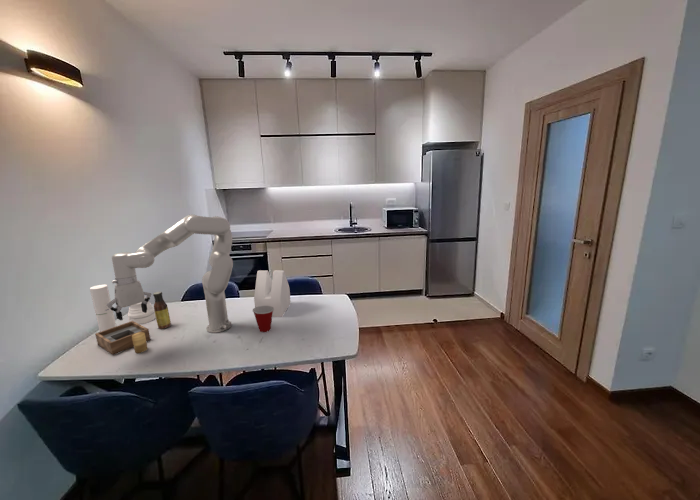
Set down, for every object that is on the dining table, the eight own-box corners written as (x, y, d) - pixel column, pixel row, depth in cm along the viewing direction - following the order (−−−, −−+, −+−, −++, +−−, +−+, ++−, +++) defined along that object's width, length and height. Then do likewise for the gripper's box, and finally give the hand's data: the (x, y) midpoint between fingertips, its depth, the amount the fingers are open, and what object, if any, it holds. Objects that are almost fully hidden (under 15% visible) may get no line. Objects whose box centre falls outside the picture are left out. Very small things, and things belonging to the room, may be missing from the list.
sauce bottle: (173, 324, 166) (167, 291, 162) (163, 330, 161) (157, 295, 156) (165, 323, 169) (159, 290, 164) (154, 328, 163) (148, 294, 158)
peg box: (150, 339, 151) (148, 328, 149) (112, 355, 138) (110, 343, 136) (134, 331, 161) (132, 320, 159) (97, 344, 148) (95, 333, 146)
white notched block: (267, 303, 192) (263, 266, 186) (290, 303, 191) (287, 266, 185) (256, 317, 173) (251, 275, 168) (282, 317, 172) (278, 275, 167)
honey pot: (124, 322, 171) (117, 293, 167) (146, 313, 183) (140, 285, 179) (139, 326, 166) (132, 295, 162) (160, 316, 178) (155, 288, 174)
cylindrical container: (119, 328, 164) (110, 285, 159) (104, 334, 158) (94, 289, 152) (112, 326, 167) (102, 283, 162) (97, 332, 161) (86, 288, 155)
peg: (149, 349, 142) (146, 333, 140) (137, 354, 138) (134, 338, 136) (144, 346, 145) (141, 331, 143) (133, 351, 141) (129, 335, 139)
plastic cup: (280, 328, 158) (278, 307, 155) (261, 336, 150) (259, 314, 148) (268, 322, 165) (266, 302, 162) (250, 330, 157) (248, 309, 155)
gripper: (106, 287, 124) (113, 325, 128) (151, 276, 139) (157, 311, 142) (99, 284, 129) (106, 320, 132) (144, 274, 143) (149, 307, 146)
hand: (132, 315), depth 137 cm, fingers open, 9 cm apart
